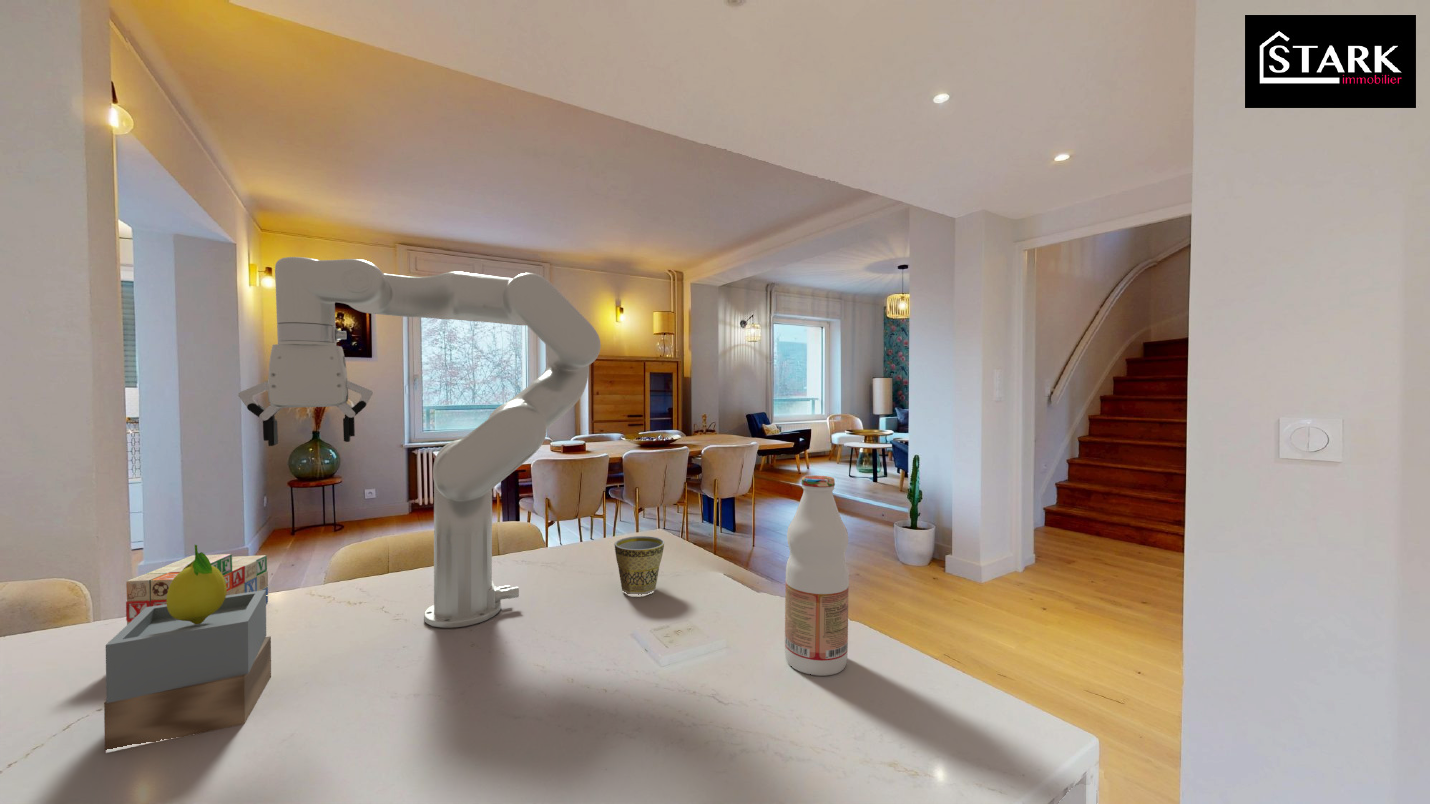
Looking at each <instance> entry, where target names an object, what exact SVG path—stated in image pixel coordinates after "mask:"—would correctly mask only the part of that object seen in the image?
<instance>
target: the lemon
mask: <svg viewBox="0 0 1430 804" xmlns="http://www.w3.org/2000/svg"><path fill="white" fill-rule="evenodd" d="M194 555H195V560H194V561H193V562H191V563H190V564H189V565H187V566H186V567H185V568H184V569H183V570H182V571H181V572H180V573H179V574H178V575H177V576H176V577H175V578H174V579H173V581H172V582H171V584H170V586H169V589H168V593H167V609H168V611H169V613H170V615H171V616H172V617H174V618H175V619H178V620H181V621H190V622H192V623H194V624H201V623H202V622H203V621H204V620H205V619H206V618H207V617H208V616H209V615H211V614H213V613H214V612H215V611H217V610H218V609H219V608H220V607H221V605H222V604H223V602H224V600H225V597H226V592H227V589H226V582H225V578H224V576H223V575H222V573H221V572H220V571H219V570H218V569H217V568H216V567H214V566H211V564H210V561H209V559H208V558H207V557H206V555H207V554H205V553H204V552H202V551H201V552H198V544H194Z"/></svg>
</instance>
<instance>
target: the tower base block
mask: <svg viewBox="0 0 1430 804" xmlns="http://www.w3.org/2000/svg"><path fill="white" fill-rule="evenodd" d="M271 678H272V636H266V637H265V639H264V641H263V644H262V646H261V648H260V650H259V652H258V654H257V656H256V659H255V661H254V663H253V665H252V667H251V669H250V672H249V674H245V675H240V676H235V677H230V678H226V679H221V680H216V681H211V682H206V683H201V684H197V685H192V686H187V687H182V688H177V689H172V690H168V691H163V692H158V693H153V694H148V695H143V696H139V697H134V698H129V699H124V700H120V701H115V702H110V703H107V702H106V701H104V702H103V703H104V704H103V706H104V707H103V714H104V716H103V718H104V721H103V722H104V726H103V727H104V751H105V750H107V749H113V748H117V747H123V746H127V745H132V744H141V743H146V742H156V741H160V740H161V739H162V740H164V739H171V738H176V737H181V738H185V737H184V736H186V737H190V736H194V735H193V734H195V735H198V734H204V733H208V732H213V731H217V730H223V729H226V728H231V727H235V726H241V725H245V724H246V723H247V720H248V719H249V717H250V715H251V714H252V711H253V710H254V708H255V706H256V704H257V703H258V701H259V699H260V697H261V695H262V694H263V692H264V690H265V689H266V687H267V685H268V683H269V681H270V680H271ZM189 735H190V736H189ZM176 739H177V738H176Z"/></svg>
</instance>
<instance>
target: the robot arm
mask: <svg viewBox="0 0 1430 804" xmlns="http://www.w3.org/2000/svg"><path fill="white" fill-rule="evenodd" d="M274 266H275V267H274V268H275V269H274V274H275V275H274V277H275V279H274V280H275V283H274V284H275V302H276V303H275V304H276V306H275V307H276V329H277V330H276V331H277V332H276V333H277V344H275V343H274V344H272V346H271V349H270V350H271V352H270V354H269V362H268V363H269V364H268V376H267V378H268V379H267V380H266V381H264V382H261V383H259V384H257V385H254V386H251V387H249V388H247V389H245V390H243V391H240V392H238V394H237V395H238V397H239V400H241V402H242V403H243V404H244V406H246V409H247V410H248V411H249V412H250V413H252V414H253V415H255V416H257V418H259V419H260V420H261V421H262V432H263V434H262V436H263V441H264V442H265V441H267V444H268V447H274V446H276V445H278V444H279V437H278V436H279V435H278V433H279V432H278V420H277V419H276V418H275V417H276V415H277V414H278V413H279V412H280V411H281V410H282V409H283V408H287V409H289V408H292V409H293V408H294V409H295V408H317V407H318V408H321V407H324V408H325V407H327V408H328V407H337V408H338V409H339V410H340V411H341V412H342V413H344V418H343V419H342V425H343V427H342V428H343V429H342V430H343V431H342V432H343V442H344V443H349V442H351V437H356V433H355V432H356V429H355V428H356V426H355V424H356V423H355V417H356V416H357V415H358V414H359V413H360V412H361V411H362V410H364V408H365V407H367V405H368V403H369V402H370V400H371V399H372V396H373V395H374V391H373V390H372V389H370V388H366V387H364V386H362V385H359V384H357V383H355V382H352V381H349V380H348V372H347V370H348V369H347V363H346V358H345V353H344V349H343V346H341V345H340V346H339V345H337V343H338V342H339V341H341V340H347V331H346V330H343V331H342V330H341V329H340V330H339V329H338V328H337V327H336V305H335V304H336V303H338V304H339V303H340V304H345V305H348V306H349V307H350V308H352V309H354V310H356V311H358V312H361V313H365V314H373V315H381V316H382V315H383V316H393V317H403V318H404V317H407V318H421V319H422V318H423V319H436V320H455V321H468V322H480V323H491V324H493V323H494V324H499V325H500V324H501V325H502V324H503V325H513V326H527V327H528V328H529V329H530V330H531V331H532V333H534V334H535V335H536V336H537V338H538V339H539V340H541V341H542V342H543V343H544V344H545V351H546V356H547V363H546V368H545V370H544V371H543V372H542V374H540V375H539V377H538V378H536V379H535V380H534V381H532V382H531V383H530V384H529V385H528V386H527V387H525V388H524V389H522V390H521V391H520V392H519V393H517V394H516V395H515V396H513V397H512V398H511V399H509V400H508V401H506V402H505V403H503V404H501V405H499V406H498V407H496V408H495V409H494V410H493V411H492V413H490V415H489V416H488V418H487V419H486V420H485V421H484V422H483V423H481V424H480V425H479V426H477V427H476V428H475V429H473V430H472V431H471V432H470V433H468V434H467V435H466V436H464V437H463V438H461V439H455V440H452V441H450V442H449V443H447V444H446V445H445V444H444V446H443V447H441V449H440V450H439V451H438V453H437V454H436V456H435V458H434V462H433V467H432V469H433V470H432V478H433V492H434V493H433V499H434V500H433V604H432V605H430V606H429V607H428V608H427V609H426V610H425V611H424V613H423V620H424V623H426V624H427V625H429V626H432V627H435V628H441V629H442V628H443V629H444V628H448V629H449V628H450V629H451V628H452V629H453V628H461V627H462V628H463V627H468V626H472V625H476V624H479V623H482V622H485V621H487V620H489V619H492V618H493V617H494V616H496V615H497V614H498V613H500V610H501V609H502V603H501V601H502V600H506V599H508V600H510V599H516V598H519V597H520V588H519V586H514V587H511V585H510V584H508V585H502V586H497V585H495V584H494V581H493V576H492V575H493V568H492V567H493V565H492V564H493V556H492V555H493V494H492V493H493V489H494V488H495V487H496V486H497V485H499V484H500V483H501V482H502V481H504V480H505V479H506V478H507V477H508V476H511V474H512V473H513V472H515V471H516V470H517V469H518V468H519V467H521V466H522V465H524V464H525V463H526V462H527V461H528V460H529V459H530V458H531V457H532V456H534V455H535V453H537V451H539V449H541V447H542V446H543V443H544V442H545V440H546V436H547V431H548V429H549V428H550V427H552V426H553V425H554V424H555V423H556V422H557V421H559V420H560V419H561V418H562V417H563V416H564V415H566V414H567V412H569V411H570V410H571V409H572V408H573V407H574V406H575V405H576V404H577V403H578V402H579V400H580V399H581V397H582V396H583V394H584V392H585V390H586V386H587V383H588V380H589V367H590V365H592V363H594V362H595V361H596V360H597V359H598V357H599V355H600V352H601V345H602V344H601V339H600V336H599V334H598V332H597V331H596V329H595V327H594V326H593V325H592V324H591V323H590V321H588V320H587V319H586V318H585V317H584V316H583V314H581V312H580V311H578V309H576V307H575V306H574V305H573V304H572V303H571V302H570V301H569V300H568V299H567V298H566V297H565V296H564V295H563V294H562V293H561V292H560V290H558V288H557V287H555V286H554V285H553V284H552V282H550V281H549V280H547V278H545V277H543V276H542V275H539V274H537V273H534V272H525V273H520V274H518V275H516V276H515V277H513V278H511V277H503V276H495V275H487V274H479V273H472V272H471V273H470V272H464V271H449V272H444V273H440V274H437V275H434V276H433V275H431V276H409V275H408V276H407V275H398V274H390V273H383V271H382V270H381V269H380V268H379V267H378V266H377V265H376V264H374V263H372V262H371V261H367V260H365V259H358V258H346V259H345V258H344V259H342V258H341V259H323V260H322V259H321V260H319V259H315V258H311V257H302V256H301V257H300V256H288V257H287V256H286V257H282V258H280V259H278V260H277V261H276V263H275V265H274ZM349 390H350V391H352V392H355V393H356V394H360V396H361V397H360V399H359V401H358V402H357V403H356V404H355V405H354V406H351V405H350V404H348V400H349ZM265 392H267V399H268V403H269V405H268V406H267V407H266V408H264V407H262V405H260V404H259V403H258V402H257V401H256V399H255V397H256V396H258V395H260V394H262V393H265Z"/></svg>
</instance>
